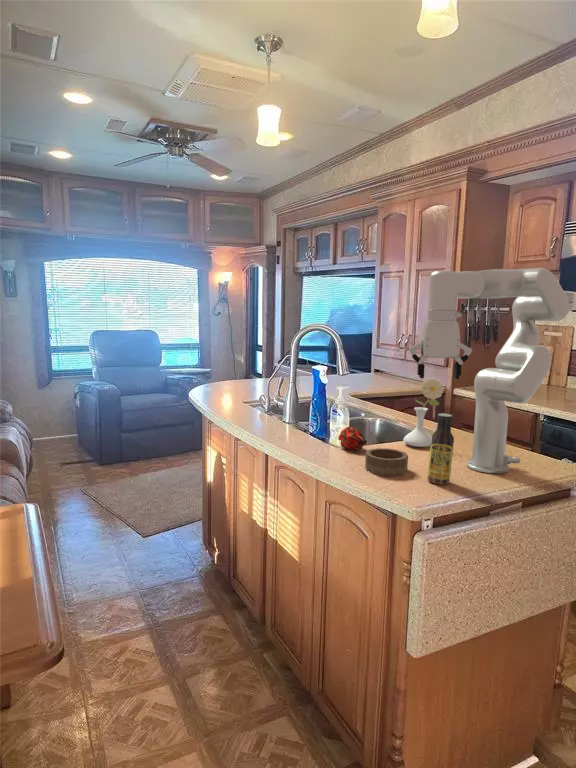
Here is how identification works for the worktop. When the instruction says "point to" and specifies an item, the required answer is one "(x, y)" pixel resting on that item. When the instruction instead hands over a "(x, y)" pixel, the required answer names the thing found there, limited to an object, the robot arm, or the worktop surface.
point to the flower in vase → (419, 434)
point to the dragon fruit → (351, 438)
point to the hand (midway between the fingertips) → (438, 378)
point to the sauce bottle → (441, 451)
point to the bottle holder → (386, 462)
